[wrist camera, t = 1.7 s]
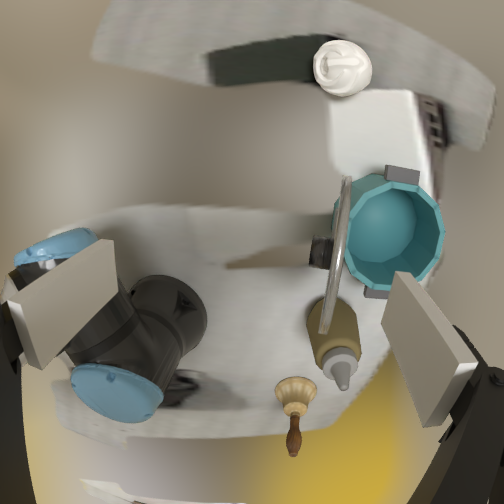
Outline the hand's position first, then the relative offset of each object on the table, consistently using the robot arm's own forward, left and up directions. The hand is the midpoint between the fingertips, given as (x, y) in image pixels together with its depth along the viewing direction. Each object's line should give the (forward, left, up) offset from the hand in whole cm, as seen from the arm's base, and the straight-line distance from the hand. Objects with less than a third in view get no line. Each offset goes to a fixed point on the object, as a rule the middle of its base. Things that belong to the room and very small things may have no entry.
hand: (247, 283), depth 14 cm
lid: (+7, -4, -16) cm, 18 cm away
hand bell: (+8, -39, -33) cm, 51 cm away
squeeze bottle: (+11, -20, -33) cm, 40 cm away
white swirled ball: (+8, +17, -33) cm, 38 cm away
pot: (+16, -4, -33) cm, 36 cm away
